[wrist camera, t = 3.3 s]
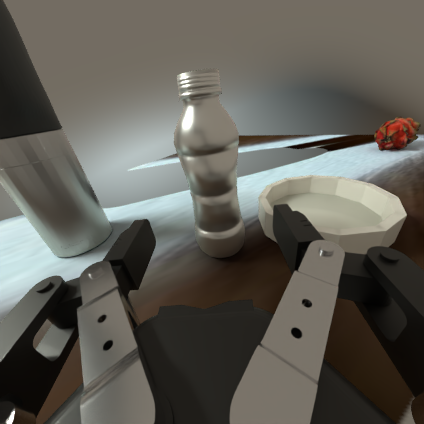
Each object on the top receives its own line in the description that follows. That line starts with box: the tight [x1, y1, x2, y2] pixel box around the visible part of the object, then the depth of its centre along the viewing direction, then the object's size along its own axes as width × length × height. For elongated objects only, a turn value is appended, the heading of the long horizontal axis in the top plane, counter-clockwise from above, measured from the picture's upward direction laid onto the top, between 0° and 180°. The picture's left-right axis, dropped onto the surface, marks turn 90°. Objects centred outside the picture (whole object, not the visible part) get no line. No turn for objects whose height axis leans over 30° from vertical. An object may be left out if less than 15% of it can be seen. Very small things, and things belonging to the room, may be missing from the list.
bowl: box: [258, 175, 407, 255], centre depth 28 cm, size 17×17×4 cm
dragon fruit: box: [375, 117, 420, 150], centre depth 51 cm, size 8×8×12 cm
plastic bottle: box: [174, 69, 245, 258], centre depth 21 cm, size 6×7×20 cm
